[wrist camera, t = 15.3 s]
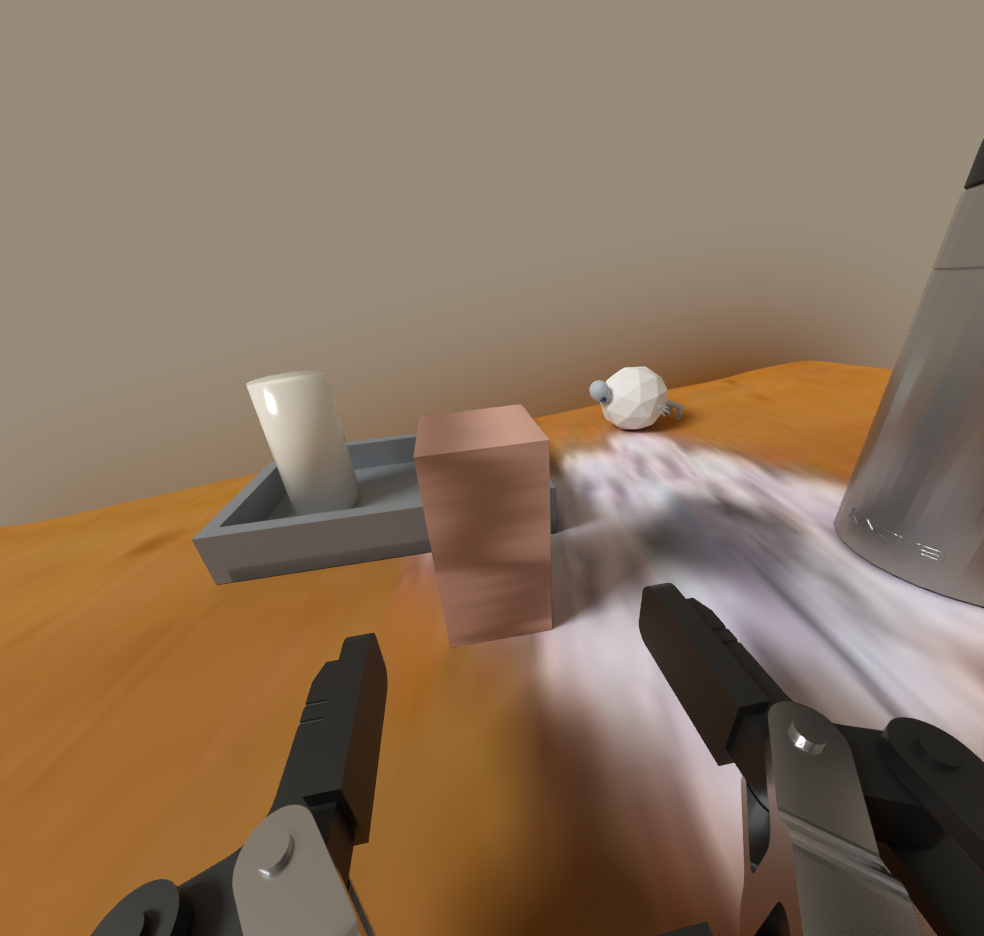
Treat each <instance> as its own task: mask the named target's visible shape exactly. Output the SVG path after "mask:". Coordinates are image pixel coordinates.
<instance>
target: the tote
mask: <svg viewBox="0 0 984 936" xmlns="http://www.w3.org/2000/svg"><path fill="white" fill-rule="evenodd" d="M416 437H417V433H415V434H407V435H399V436H391V437H383V438H376V439H367V440H359V441H351V442H347V446H348V449H349V453H350V456H351V460H352V464H353V467H354V471H355V474H356V478H357V482H358V485H359V489H360V493H361V499H360V501H359V502H358V504H357V505H355V506H354V507H353V508H352V509H346V510H339V511H332V512H325V513H317V514H310V515H303V516H296V515H295V513H294V510H293V507H292V505H291V502H290V499H289V497H288V494H287V492H286V489H285V486H284V484H283V481H282V478H281V476H280V473H279V470H278V468H277V465H276V462H275V460H274V459H273V460H272V461H271V462H270V463H269V464H268V465H267V466H266V467H265V468H264V469H263V470H262V471H261V472H260V473H259V474H258V475H257V476H256V477H255V478H254V479H253V480H252V481H251V482H250V483H249V484H248V485H247V486H246V487H245V488H244V489H243V490H242V491H241V492H240V493H238V494H237V495H236V496H235V497H234V498H233V499H232V500H231V501H230V502H229V503H228V504H227V505H226V506H225V507H224V508H223V509H222V510H221V511H220V512H219V513H218V514H217V515H216V516H215V517H214V518H213V519H212V520H211V521H210V522H209V523H208V524H207V525H206V526H205V527H204V528H203V529H202V530H201V531H200V532H199V533H198V534H197V535H196V536H195V537H194V538H193V539H192V541H193V543H194V545H195V546H196V548H197V550H198V552H199V554H200V556H201V557H202V559H203V561H204V563H205V565H206V567H207V568H208V570H209V572H210V574H211V576H212V578H213V580H214V581H215V583H216V585H218V584H224V583H231V582H237V581H244V580H250V579H257V578H263V577H270V576H276V575H283V574H290V573H296V572H303V571H309V570H316V569H322V568H329V567H335V566H342V565H348V564H355V563H361V562H368V561H374V560H381V559H387V558H394V557H401V556H407V555H414V554H420V553H427V552H432V551H431V546H430V541H429V536H428V530H427V525H426V520H425V515H424V510H423V505H422V500H421V495H420V489H419V484H418V479H417V474H416V469H415V464H414V459H413V456H414V450H415V443H416ZM550 531H551V533H556V487H555V485H554V484H553V482H552V480H551V479H550Z"/></svg>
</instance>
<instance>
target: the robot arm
mask: <svg viewBox="0 0 984 936" xmlns="http://www.w3.org/2000/svg"><path fill="white" fill-rule="evenodd" d="M964 188H965V189H966V191H964V192H963V193H962V194H961V196H960V199H959V201H958V204H957V206H956V209H955V211H954V214H953V217H952V219H951V222H950V224H949V227H948V229H947V232H946V235H945V237H944V240H943V242H942V245H941V247H940V250H939V252H938V255H937V258H936V260H935V263H934V266H933V269H934V270H932V271H931V274H930V277H929V279H928V282H927V284H926V287H925V289H924V292H923V295H922V297H921V300H920V302H919V305H918V307H917V310H916V313H915V315H914V318H913V320H912V323H911V325H910V328H909V330H908V333H907V335H906V338H905V341H904V343H903V346H902V348H901V351H900V353H899V356H898V359H897V361H896V364H895V366H894V369H893V371H892V374H891V376H890V379H889V381H888V384H887V387H886V389H885V392H884V394H883V397H882V399H881V402H880V405H879V407H878V410H877V412H876V415H875V417H874V420H873V422H872V425H871V428H870V430H869V433H868V435H867V438H866V440H865V443H864V445H863V448H862V451H861V453H860V456H859V458H858V461H857V463H856V465H855V468H854V471H853V473H852V476H851V479H850V481H849V484H848V486H847V489H846V492H845V494H844V497H843V500H842V502H841V505H840V507H839V510H838V513H837V515H836V518H835V521H834V526H835V531H836V532H837V534H838V535H839V537H840V538H841V539H842V541H843V542H844V543H846V544H847V545H848V546H849V547H850V548H851V549H852V550H853V551H855V552H856V553H857V554H859V555H860V556H862V557H863V558H865V559H866V560H868V561H869V562H871V563H873V564H874V565H876V566H878V567H880V568H882V569H884V570H885V571H887V572H889V573H891V574H893V575H895V576H897V577H900V578H902V579H904V580H906V581H909V582H911V583H913V584H915V585H918V586H920V587H923V588H926V589H929V590H931V591H934V592H937V593H940V594H942V595H945V596H948V597H951V598H955V599H958V600H962V601H965V602H969V603H972V604H976V605H979V606H984V139H983V141H982V144H981V146H980V148H979V150H978V153H977V155H976V158H975V160H974V163H973V166H972V168H971V171H970V174H969V176H968V179H967V181H966V184H965V187H964ZM639 629H640V633H641V636H642V639H643V641H644V643H645V645H646V647H647V648H648V650H649V652H650V653H651V655H652V657H653V658H654V660H655V662H656V663H657V665H658V667H659V668H660V670H661V671H662V673H663V675H664V676H665V678H666V680H667V681H668V683H669V685H670V686H671V688H672V690H673V691H674V693H675V695H676V696H677V698H678V700H679V701H680V703H681V705H682V706H683V708H684V710H685V711H686V713H687V715H688V716H689V718H690V720H691V721H692V723H693V724H694V726H695V728H696V729H697V731H698V733H699V734H700V736H701V738H702V739H703V741H704V743H705V744H706V746H707V748H708V749H709V751H710V753H711V754H712V756H713V758H714V759H715V761H716V763H717V764H718V766H721V765H726V764H730V763H735V764H736V766H737V767H738V769H739V770H740V772H741V773H742V778H741V794H742V820H743V846H744V888H743V894H742V900H741V912H740V936H922V934H921V930H920V927H919V924H918V920H917V917H916V914H915V911H914V908H913V905H912V902H913V903H914V905H915V906H916V907H917V909H918V910H919V911H920V913H921V914H922V915H923V917H924V918H925V919H926V921H927V922H928V923H929V925H930V926H931V927H932V929H933V930H934V931H935V933H936V934H937V935H938V936H984V874H983V873H982V872H981V871H980V869H981V870H982V871H983V872H984V762H983V761H982V760H981V759H980V758H978V757H977V756H976V755H975V754H974V753H973V752H972V751H971V750H970V749H968V748H967V747H966V746H965V745H964V744H962V743H961V742H960V741H958V740H957V739H955V738H954V737H953V736H951V735H949V734H948V733H946V732H945V731H943V730H941V729H939V728H937V727H935V726H933V725H931V724H928V723H926V722H923V721H920V720H917V719H913V718H906V717H901V718H895V719H893V720H891V721H890V722H889V724H888V725H887V727H886V728H885V730H884V731H880V730H873V729H866V728H859V727H853V726H846V725H840V724H835V723H832V722H831V721H830V720H828V719H827V718H826V717H825V716H823V715H822V714H820V713H819V712H817V711H815V710H814V709H812V708H810V707H808V706H805V705H803V704H800V703H796V702H793V701H792V700H791V699H790V698H789V697H788V696H787V695H786V694H785V693H784V692H783V691H782V690H781V688H780V687H779V686H778V685H777V684H776V683H775V682H774V680H773V679H772V678H771V677H770V676H769V675H768V674H767V673H766V671H765V670H764V669H763V668H762V667H761V666H760V665H759V663H758V662H757V661H756V660H755V659H754V658H753V657H752V656H751V654H750V653H749V652H748V651H747V650H746V649H745V648H744V646H743V645H742V644H741V643H738V641H737V639H736V637H735V636H734V635H733V634H732V633H731V632H730V631H729V629H726V627H725V625H724V624H723V623H722V622H721V620H720V619H719V618H718V617H717V616H716V615H715V614H714V612H713V611H712V610H711V609H709V608H708V607H706V606H705V605H703V604H702V603H700V602H699V601H697V600H696V599H694V598H689V599H685V597H684V596H683V595H682V594H681V593H680V591H679V590H678V589H677V588H676V587H675V586H674V585H673V584H672V583H664V584H658V585H653V586H647V587H645V588H644V589H643V594H642V601H641V609H640V617H639ZM386 696H387V671H386V666H385V663H384V660H383V657H382V654H381V651H380V647H379V644H378V641H377V638H376V635H375V634H374V633H370V634H364V635H358V636H353V637H347V638H346V639H345V640H344V642H343V646H342V649H341V653H340V657H339V660H335V661H330V662H326V663H325V665H324V666H323V668H322V669H321V670H320V672H319V673H318V675H317V676H316V678H315V679H314V680H313V682H312V685H311V688H310V691H309V694H308V697H307V701H306V707H305V708H304V710H303V713H302V716H301V719H300V726H298V729H297V732H296V735H295V738H294V741H293V744H292V747H291V751H290V754H289V757H288V760H287V763H286V766H285V769H284V772H283V776H282V779H281V782H280V785H279V788H278V791H277V794H276V797H275V800H274V803H273V805H272V807H271V809H270V811H269V813H268V815H267V817H266V818H265V819H264V820H263V821H262V822H261V823H260V824H259V825H258V826H257V827H256V828H255V829H254V831H253V832H252V833H251V835H250V836H249V837H248V839H247V840H246V842H245V844H244V845H243V846H242V847H241V848H239V849H238V850H237V851H236V852H234V853H233V854H231V855H230V856H228V857H227V858H225V859H224V860H222V861H220V862H219V863H217V864H215V865H214V866H212V867H210V868H209V869H207V870H205V871H203V872H202V873H200V874H198V875H197V876H195V877H193V878H192V879H190V880H188V881H187V882H185V883H183V884H182V885H180V886H178V887H177V886H176V885H175V884H174V883H173V882H171V881H169V880H165V879H159V880H154V881H151V882H149V883H146V884H144V885H142V886H140V887H139V888H137V889H135V890H134V891H133V892H131V893H130V894H128V895H127V896H126V897H125V898H124V899H122V900H121V901H120V902H119V903H118V904H117V905H116V906H115V907H114V908H113V909H112V910H111V911H110V912H109V913H108V914H107V915H106V916H105V918H104V919H103V920H102V921H101V922H100V924H99V925H98V926H97V927H96V929H95V930H94V931H93V933H92V934H91V936H377V935H376V933H375V931H374V929H373V927H372V924H371V922H370V920H369V918H368V915H367V913H366V911H365V909H364V907H363V904H362V902H361V900H360V898H359V896H358V893H357V891H356V889H355V887H354V884H353V882H352V880H351V878H350V876H349V872H350V865H351V858H352V852H353V846H355V845H359V844H364V843H368V842H369V834H370V825H371V817H372V809H373V801H374V793H375V785H376V777H377V769H378V761H379V753H380V744H381V736H382V728H383V720H384V712H385V704H386ZM948 834H949V835H950V836H951V837H952V838H953V839H954V840H955V842H956V843H957V844H958V845H959V846H960V847H961V848H962V849H963V850H964V851H965V853H966V854H967V855H968V856H969V857H970V858H971V859H972V860H973V861H974V862H975V864H976V865H977V866H978V867H979V868H980V869H979V868H978V867H977V866H976V865H975V864H974V863H973V862H972V861H971V860H970V858H969V857H968V856H967V855H966V854H965V853H964V852H963V851H962V850H961V848H960V847H959V846H958V845H957V844H956V843H955V842H954V841H953V840H952V838H951V837H950V836H949V835H948ZM881 860H882V861H881ZM882 862H883V863H884V864H885V866H886V867H887V868H888V870H889V871H890V872H891V874H890V873H888V872H887V870H886V869H885V867H884V866H883V863H882ZM911 901H912V902H911ZM655 936H713V935H712V933H711V930H710V928H709V926H708V923H707V922H704V923H700V924H697V925H693V926H689V927H685V928H682V929H678V930H674V931H670V932H667V933H663V934H659V935H655Z"/></svg>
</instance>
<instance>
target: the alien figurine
mask: <svg viewBox="0 0 984 936" xmlns="http://www.w3.org/2000/svg"><path fill="white" fill-rule="evenodd" d="M589 391H590V395H591V397H592V398H593V399H594V400H595V401H597V402H600V403H601V407H602V410H603V413H604V416H605V419H607V420H608V421H610V422H611V423H613V424H614V425H615V426H617V427H618V428H620V429H642V428H644V427H647V426H650V425H652V424H653V423H654V422H655V421H656V420H657V419H658V417H659V416H660V415H661V414H663V416H665V414H664V413H663V411H665V412H666V417H667V416H669V415H670V413H671V411H672V409H673V408H675V409H677V415H676V417H675V419H677V421H678V419H680V418H681V414H682V412H683V408H684V406H683V405H681V404H679V403H676V402H673V401H670V400H667V388H666V386H665V384H664V381H663V379H662V378H661V377H660V376H658V375H657V374H656V373H654V372H653V371H651V370H650V369H648V368H647V367H626V368H623V369H621V370H620V371H618V372H617V373H616V374H614V375H613V376H612V377H610V378H609V379H608V380H607V381H606V383H605V382H604V381H600V380H598V381H595V382H594V383H592V384H591V386H590V389H589ZM666 406H668V407H666ZM665 408H668V410H665Z"/></svg>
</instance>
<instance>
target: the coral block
mask: <svg viewBox="0 0 984 936" xmlns="http://www.w3.org/2000/svg"><path fill="white" fill-rule="evenodd" d="M413 459H414V464H415V469H416V474H417V479H418V484H419V489H420V495H421V500H422V505H423V510H424V515H425V520H426V525H427V530H428V536H429V541H430V546H431V551H432V556H433V561H434V566H435V572H436V577H437V582H438V587H439V592H440V597H441V602H442V607H443V613H444V618H445V623H446V628H447V633H448V638H449V643H450V648H451V647H457V646H463V645H468V644H474V643H480V642H486V641H491V640H497V639H503V638H508V637H514V636H520V635H525V634H531V633H537V632H542V631H548V630H552V594H551V531H550V467H549V439H548V438H547V437H546V435H545V434H544V433H543V432H542V430H541V429H540V428H539V426H538V425H537V424H536V423H535V421H534V420H533V419H532V418H531V416H530V415H529V414H528V412H527V411H526V410H525V409H524V407H523V406H522V405H521V404H520V405H511V406H503V407H495V408H487V409H478V410H470V411H463V412H453V413H445V414H437V415H429V416H420V418H419V424H418V430H417V437H416V443H415V450H414V456H413Z"/></svg>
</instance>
